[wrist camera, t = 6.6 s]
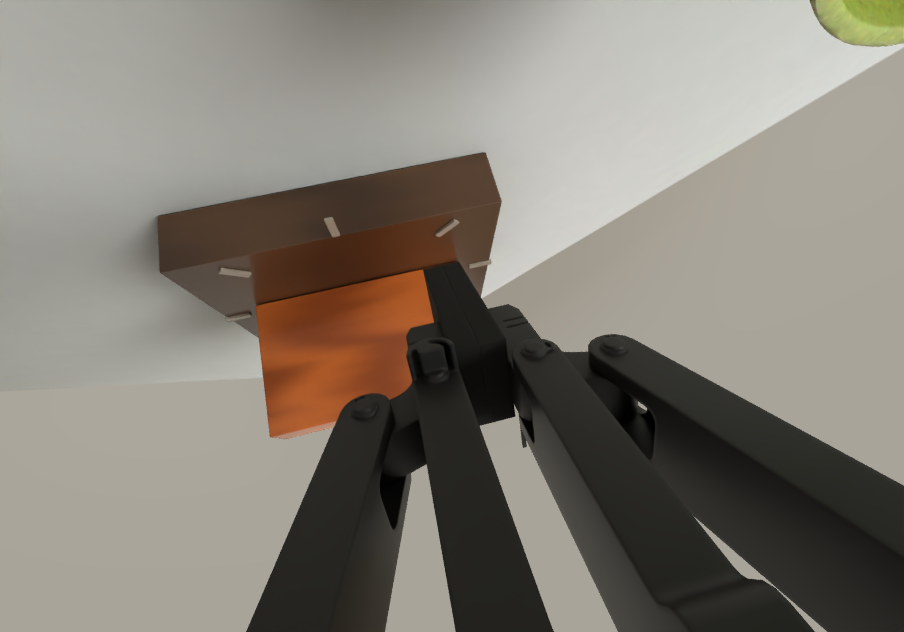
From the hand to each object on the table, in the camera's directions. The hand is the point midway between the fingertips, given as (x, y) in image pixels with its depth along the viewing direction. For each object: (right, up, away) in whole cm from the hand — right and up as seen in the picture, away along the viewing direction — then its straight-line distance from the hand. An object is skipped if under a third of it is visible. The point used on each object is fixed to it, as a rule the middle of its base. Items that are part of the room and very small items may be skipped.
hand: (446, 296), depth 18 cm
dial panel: (-6, +4, +9) cm, 12 cm away
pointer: (-5, +1, +8) cm, 10 cm away
